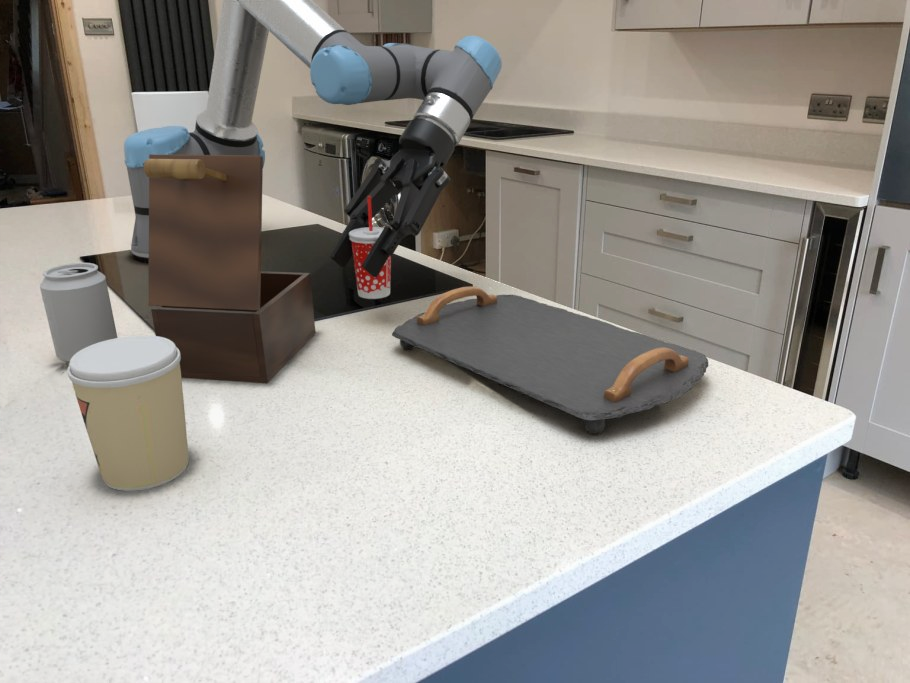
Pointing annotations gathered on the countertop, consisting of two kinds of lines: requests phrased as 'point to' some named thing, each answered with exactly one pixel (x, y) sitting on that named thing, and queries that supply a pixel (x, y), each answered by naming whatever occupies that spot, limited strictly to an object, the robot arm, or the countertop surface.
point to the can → (77, 308)
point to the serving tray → (554, 354)
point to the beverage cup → (361, 247)
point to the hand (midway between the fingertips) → (352, 266)
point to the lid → (205, 231)
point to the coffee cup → (133, 409)
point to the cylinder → (168, 109)
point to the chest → (242, 332)
